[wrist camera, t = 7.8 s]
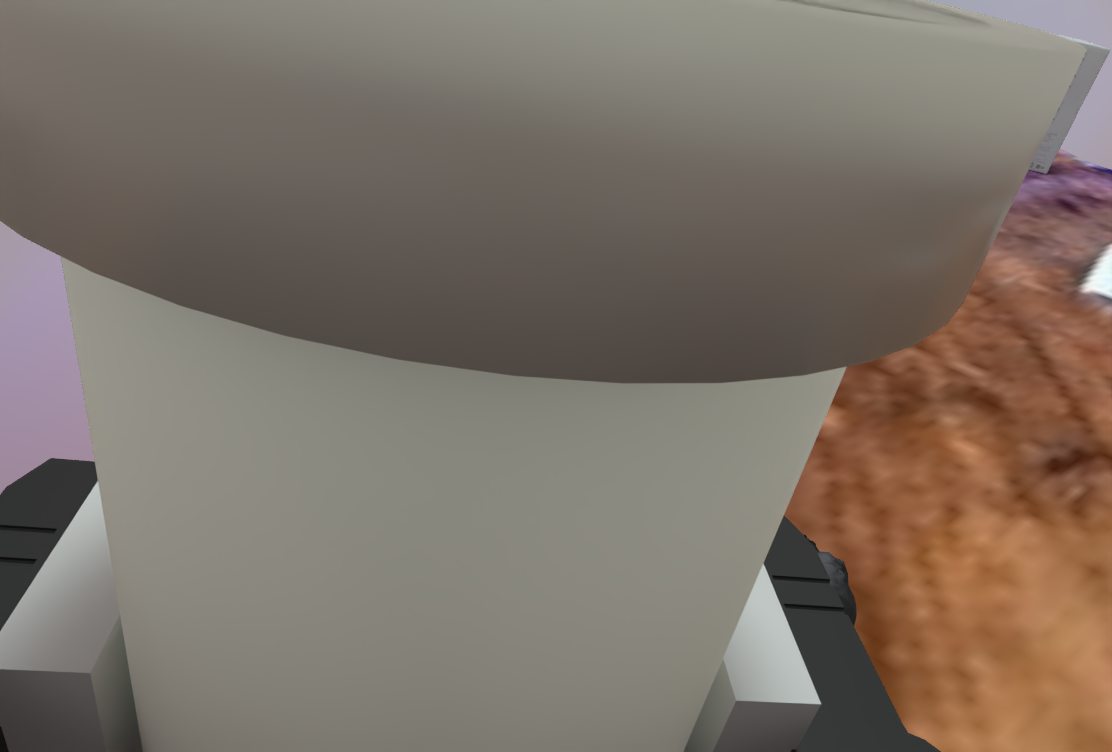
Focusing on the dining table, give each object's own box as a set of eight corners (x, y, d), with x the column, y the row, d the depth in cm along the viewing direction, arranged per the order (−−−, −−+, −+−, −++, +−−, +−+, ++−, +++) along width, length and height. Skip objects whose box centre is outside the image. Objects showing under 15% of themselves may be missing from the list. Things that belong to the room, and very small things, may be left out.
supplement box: (967, 145, 119) (1021, 26, 110) (1030, 159, 118) (1089, 40, 109) (980, 159, 111) (1038, 32, 102) (1048, 175, 109) (1113, 47, 101)
